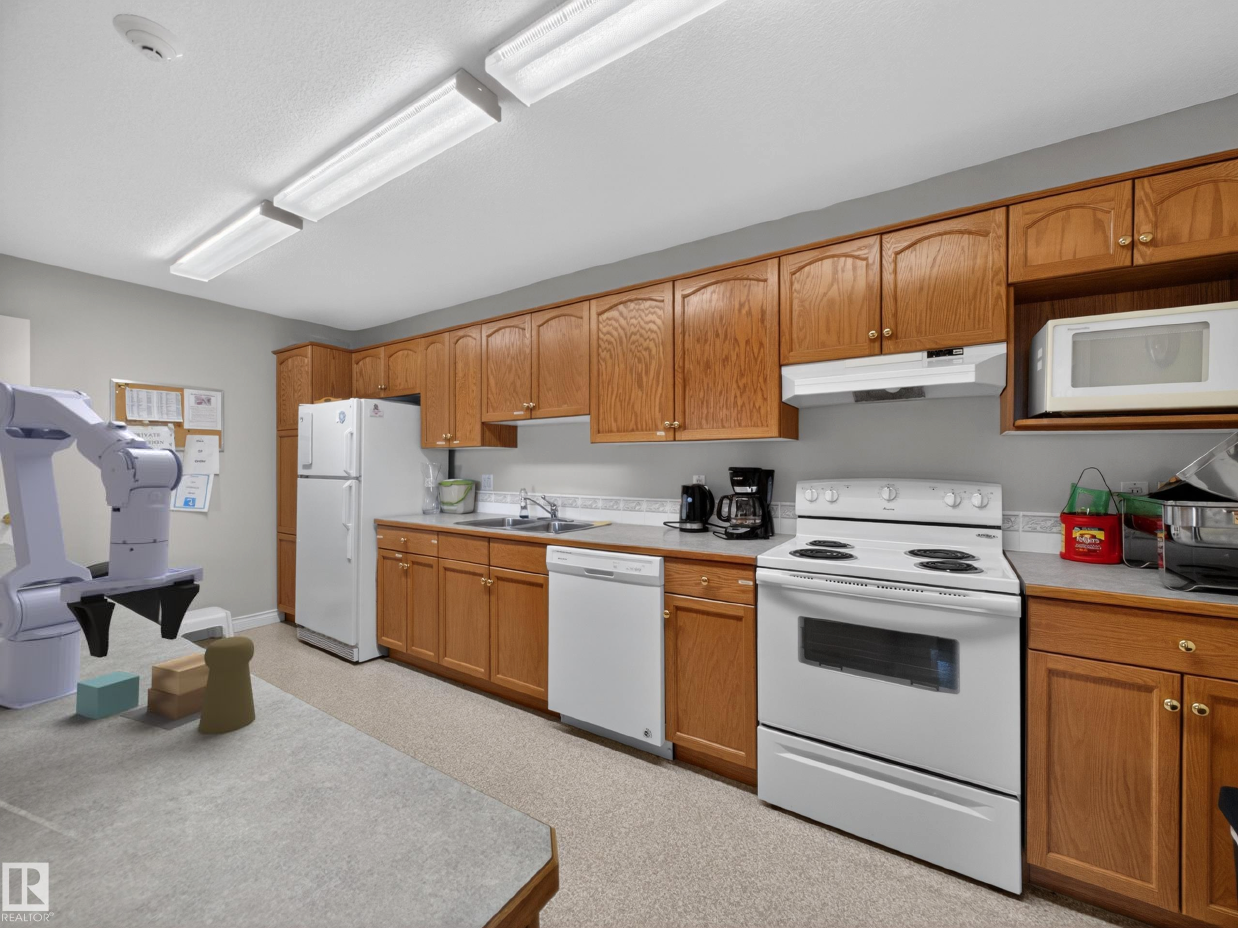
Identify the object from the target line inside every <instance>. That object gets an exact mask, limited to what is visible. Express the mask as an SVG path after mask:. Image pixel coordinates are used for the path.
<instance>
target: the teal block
mask: <svg viewBox="0 0 1238 928" xmlns="http://www.w3.org/2000/svg"><path fill="white" fill-rule="evenodd" d="M139 694H140V675H138V674H134V673H130V672H124V671H121V670H118V671H114V672H113V671H112V672H111V673H107V674H103V675H99V676H95V677H92V678H89V679H85V680H82V681H79V682H77V693H76V700H75V701H76V704H75V705H76V706H75V714H77V715H80V716H83V717H87V718H91V719H94V720H100V719H103V718H105V717H110V716H112V715H114V714H118V713H120V712H124V711H127V710H130V709H133V708H135V707H139V701H140V700H139V698H140V697H139V696H140V695H139Z"/></svg>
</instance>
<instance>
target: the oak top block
mask: <svg viewBox="0 0 1238 928" xmlns="http://www.w3.org/2000/svg"><path fill="white" fill-rule="evenodd" d="M204 655H205V653H200V652H199V653H198V652H196V653H192V654H189V655H185V656H182V657H177V658H174V659H172V660H168V661H164V662H161V663H157V664H153V665H151V687H150V688H151V689H155V690H159V691H163V692H167V693H171V694H175V695H181V694H184V693H187V692H190V691H193V690H195V689H198V688H201V687H204V686H206V685H207V680H208V675H209V667H208V666H207V665H206V664H205V661H204Z"/></svg>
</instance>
